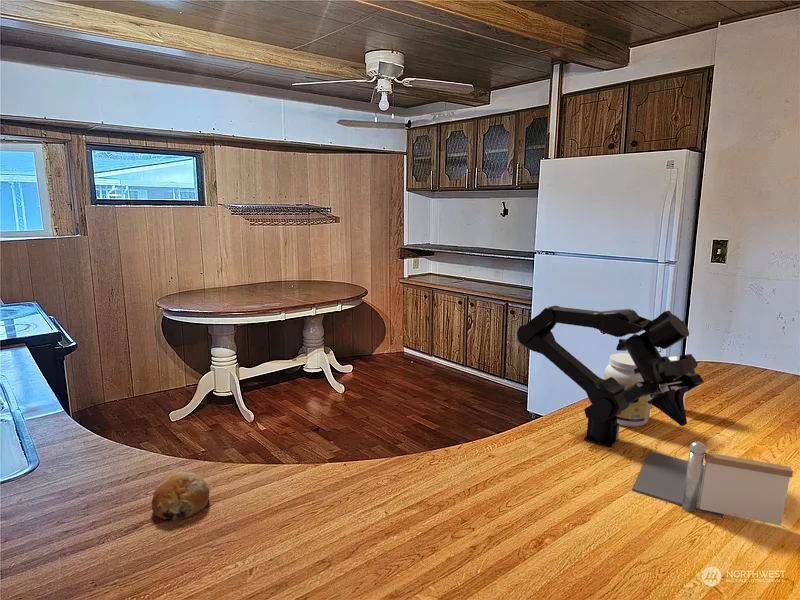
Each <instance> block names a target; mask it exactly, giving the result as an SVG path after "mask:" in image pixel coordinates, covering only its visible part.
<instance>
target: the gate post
mask: <svg viewBox="0 0 800 600" xmlns="http://www.w3.org/2000/svg"><path fill="white" fill-rule="evenodd" d="M688 451H689V453H688V459H687V461H688V466H687V473H686V480H685V487H684V494H683V501H682V506H681V509H682V510H683V511H685V512H687V513H692V514H693V513H696V511H697V510H696V506H697V499H698V493H699V486H700V479H701V473H702V466H703V465H704V460H705V459H704V456H705V453H706V452H707V448H706V446H705V444H704V443H703V442H702V441H699V440H695V441H692V442H691V443H689V446H688Z"/></svg>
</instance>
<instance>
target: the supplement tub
mask: <svg viewBox="0 0 800 600" xmlns="http://www.w3.org/2000/svg"><path fill="white" fill-rule="evenodd" d="M636 368H637V367H636V366H635V364H634V362H633V360H632V358H631V356H630V354H629V353H624V352H623V353H622V352H620V353H612V354H610V356H609V359H608V365H607V366H606V367H605V369H604V377H603V379H604V380H606V379H608V378H610V377H612V378H614V379H615V380H616V381H617V382H618V383H619V384H620V385H622V386H624V387H626V388H625V389H624V390H627V389H628V388H630V387H631V386H633V385H635V384H636V383H638V382H643V381H644V380H643V378H642V376H641V375H640V373H639V374H635V372H634V369H636ZM649 400H651V398H650V395H645V396H641V397H640V398H639V400H638V402H637V403H632V404H629V406H628V407H627V408H626V409H625V410H623V411H621V413H620V414H619V415H616V416H617V417H618V420H617V423H619V424H620V425H619V426H624V427H632V428H633V427H635V428H636V427H641V426H644V425H645V424H647V423H648V422H649V419H650V412H651V406H652V404H648V403H647V402H648V401H649Z"/></svg>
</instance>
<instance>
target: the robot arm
mask: <svg viewBox="0 0 800 600" xmlns="http://www.w3.org/2000/svg"><path fill="white" fill-rule="evenodd" d="M557 324H563V325H564V324H565V325H572V326H577V327H585V328H591V329H594V330H595V329H596V330H598V331H599V332H601V333H603V334H607V335H610V336H612V337H613V336H614V338H616V337H617V338H619V339H618V344H617V346H616V347H615V348H616V349H615V350H616V351H619V352H621V351H622V352H623V351H627V354H630V356H631V358H632V360H633V362H634V364H635V366H636V367H637V368H636V369H634V372H635V374H639V373H640V375H641V376H642V378H643V380H644V381H643V382H638V383H636V384H635V385H633V386H631V387H630V388H628V389H627V390H624V389H625V388H626V387H624V386H622V385H620V384H619V383H618V382H617V381H616V380H615V379H614V378H612V377H610V378H608V379H606V380H604V378H601V377H599V376H598V375H597V374H596V373H594V372H593V371H592V370H590V369H589V368H588V367H587V366H586V365H585V364H584V363H582V361H580V360H579V359H577V358H576V357H575V356H574V355H572V353H570V352H569V351H568V350H567V349H565V348H564V347H563V346H562V345H561V344H559V343H558V342H557V341H556V338H555V336H554V333H553V332H552V330H553V329H554V328H555V326H556V325H557ZM516 331H517V332H516V336H517V338H516V340H517V341H518V343H519V344H520V345H522V347H524V348H526V349H528V350H530V351H532V352H535V353H538V354H540V355H543V356H544V357H545V358H546V359H547V360H549V361H550V362H551V363H553V365H554V366H556V367H557V368H558V369H559V370H560V371H561V372H563V373H564V374H565V375H566V376H567V377H568V378H569V379H571V380H572V381H573V382H574V383H575V384H577V385H578V386H579V387H580V389H582V390H583V391H584V392H585V394H586V395H587V397H588V400H589V402H590V405H589V406H587V407H585V408H584V409H583V410H584V415H585V418H587V426H586V427H587V428H586V434H585V436H584V438H583V441H587V442H590V443H594V444H597V445H601V446H605V447H609V448H612V447H613V445H614V444H615V443H616V442H617V441H618V440H619V433H620V426H621V425H620V424H619V423H617V420H618V417H617V416H616V415H619V414H620V413H621V411H623V410H625V409H626V408H627V407H628V406H629V404H632V403H637V402H638V400H639V398H640V397H641V396H645V395H650V398H651V400H649V401H648V402H647V403H648V404H651V406H654V407H655V408H656V409H658V410H659V411H661V412H662V413H664V414H665V415H666V416H668V417H669V418H670V419H672V420H673V421H674V422H675V423H676V424H678V425H680V426H681V427H683V426H686V425H687V424H688V420H687V414H686V409H684V406H685V401H684V402H683V396H684V394H685V392H689V391H691V390H692V389H695V388H696V387H698V386H701V385H702V384H704V383H705V382H704V380H703V378H702V376H701V375H700V373H696V370H695V369H697V367H698V364H699V363H698V361H697V360H696V358H695V357H694V356H693V355H692V353H688V354H682V355H679V356H680V358H679V360H677V361H670V360H669V358H668V357H667V356H664V355H663V356H662V355H661V353H660V351H659V349H658V348H660V349H663V350H666V349H668V348H670V347H672V346H674V345H675V344H677V343H678V342H680V341H682V340H684V339H685V338H687V337H689V336H690V331H689V328H688V326H687V324H686V323H685V322H684V320H681V319H680V318H679V317H678V316H676V315H675V314H673V313H672V311H671V310H664V311H663V312H661V314H659V316H658V317H656V318H654V319H652V320H651V319H648V318H645V317H642V316H640V315H639V314H638V313H637V312H636V311H635V310H633V309H631V308H630V309H629V308H624V309H611V310H603V311H599V310H591V309H590V310H589V309H581V308H573V307H564V306H559V305H551V306H547V307H544V308H543V309H542V310H541V312H539V313H538V314H537V315H536V316H535V317H533V318H532V319H531V320H529V321H528V322H527V323H525V324H522V325H520V326H519V327H518V328H517V330H516ZM641 332H642V333H641ZM638 333H640V334H638ZM628 335H631V336H629V337H627V338H626V339H625V338H622V337H625V336H628ZM676 378H677V379H676ZM674 379H675V380H674ZM667 386H668V387H667Z"/></svg>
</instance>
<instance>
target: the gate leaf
mask: <svg viewBox="0 0 800 600" xmlns="http://www.w3.org/2000/svg"><path fill="white" fill-rule="evenodd" d="M703 460H704V461H705V462H704V465H705V467H704V474H703V480H702V487H701V494H700V500H699V508H700V509H702V510H707V511H712V512H717V513H722V514H724V515H725V516H726V515H728V516H732V517H737V518H742V519H747V520H750V521H751V520H752V521H756V522H762V523H766V524H770V525H776V526H782V522H783V517H784V512H785V511H784V510H785V505H786V500H787V495H788V489H789V483H790V479H791V478H793V474H794V470H793V469H792V467H791V466H788V465H783V464H778V463H771V462H765V461H764V462H763V461H759V460H753V459H747V458H741V457H737V456H736V457H735V456H732V455H731V456H729V455H723V454H719V453H712V452H708V451H706V453H705V454H704V459H703Z"/></svg>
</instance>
